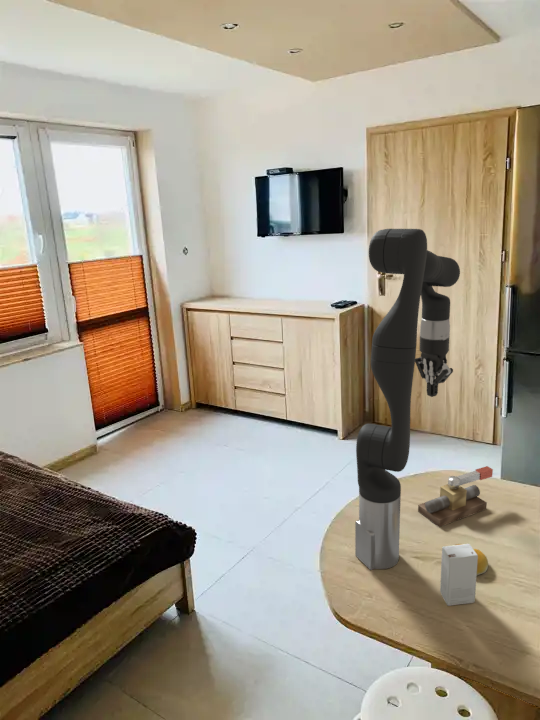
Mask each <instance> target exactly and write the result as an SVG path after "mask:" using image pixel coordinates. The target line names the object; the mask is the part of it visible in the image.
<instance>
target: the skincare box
mask: <svg viewBox="0 0 540 720" xmlns="http://www.w3.org/2000/svg"><path fill="white" fill-rule="evenodd" d="M460 544H461V545H456V544H454V545H445V546H442V547H441V567H440V568H441V569H440V584H439V585H440V586H439V587H440V588H439V592H440V594H441V597H442V599H443V601H444V602H445V604H446V606H447V607H448V606H449V607H450V606H456V605H465V604H466V605H467V604H473V603H476V601H475V599H476V588H477V587H476V586H477V576H478V575H477V560H478V555H477V554H476V552H475V551H474V550H473V549H474V548H473V546H472V545H471V544H470V543H460Z"/></svg>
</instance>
